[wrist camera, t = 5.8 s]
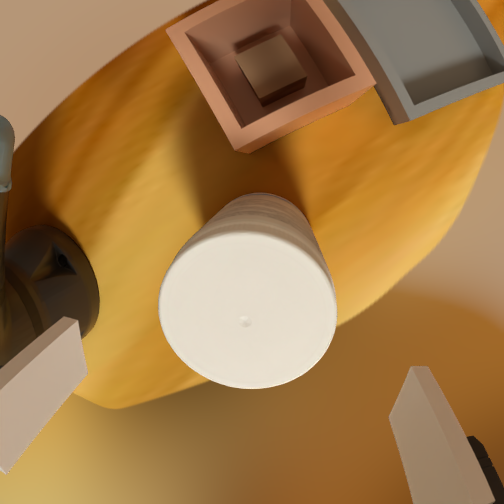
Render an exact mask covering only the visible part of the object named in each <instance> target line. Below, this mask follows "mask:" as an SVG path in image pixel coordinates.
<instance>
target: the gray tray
mask: <svg viewBox="0 0 504 504" xmlns="http://www.w3.org/2000/svg"><path fill="white" fill-rule="evenodd" d="M323 2H324V3H325V4H326V6H327V7H328V8H329V10H330V11H331V13H332V14H333V15H334V17H335V18H336V20H337V21H338V22H339V24H340V25H341V27H342V28H343V30H344V31H345V33H346V34H347V36H348V37H349V39H350V40H351V42H352V43H353V45H354V46H355V48H356V50H357V51H358V53H359V54H360V56H361V58H362V59H363V61H364V63H365V64H366V66H367V68H368V69H369V71H370V73H371V74H372V76H373V78H374V80H375V81H376V83H377V84H375V85H374V87H375V89H376V91H377V93H378V95H379V97H380V98H381V100H382V102H383V104H384V106H385V108H386V110H387V112H388V114H389V116H390V118H391V120H392V122H393V124H394V125H397V124H400V123H404V122H408V121H411V120H413V119H415V118H418V117H420V116H422V115H425V114H427V113H429V112H432V111H434V110H436V109H439V108H441V107H444V106H446V105H448V104H451V103H453V102H456V101H458V100H461V99H463V98H466V97H468V96H471V95H473V94H476V93H478V92H481V91H483V90H486V89H488V88H491V87H494V86H496V85H499V84H502V83H504V46H503V44H502V42H501V40H500V38H499V36H498V35H497V33H496V31H495V29H494V28H493V26H492V24H491V23H490V21H489V19H488V18H487V16H486V14H485V13H484V11H483V9H482V8H481V6H480V5H479V3H478V2H477V0H323Z"/></svg>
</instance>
